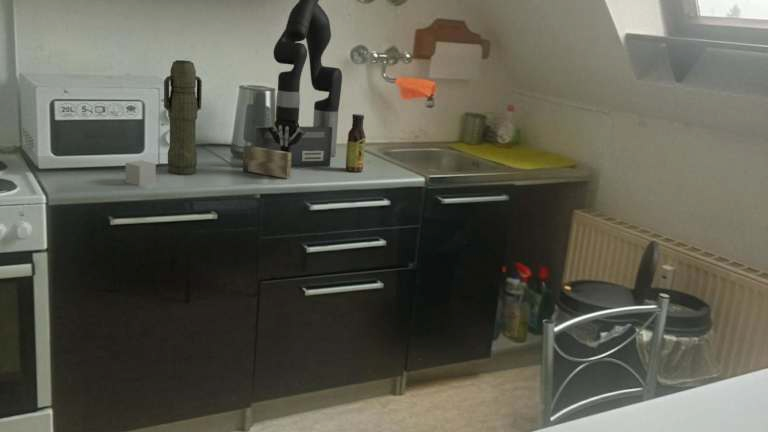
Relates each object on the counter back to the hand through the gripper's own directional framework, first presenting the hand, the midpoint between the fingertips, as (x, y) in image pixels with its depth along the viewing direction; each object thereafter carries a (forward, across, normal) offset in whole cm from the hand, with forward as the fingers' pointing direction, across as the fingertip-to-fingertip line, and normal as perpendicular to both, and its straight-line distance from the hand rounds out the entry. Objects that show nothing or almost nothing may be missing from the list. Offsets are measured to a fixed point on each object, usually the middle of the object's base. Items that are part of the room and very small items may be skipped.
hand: (285, 157), depth 243 cm
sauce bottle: (+6, +16, +22) cm, 28 cm away
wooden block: (+5, -4, -5) cm, 8 cm away
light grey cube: (+6, -26, -39) cm, 48 cm away
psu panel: (+6, -4, +12) cm, 14 cm away
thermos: (+6, -26, -20) cm, 33 cm away
